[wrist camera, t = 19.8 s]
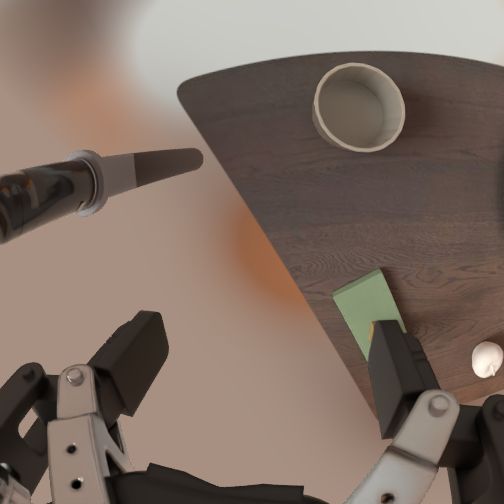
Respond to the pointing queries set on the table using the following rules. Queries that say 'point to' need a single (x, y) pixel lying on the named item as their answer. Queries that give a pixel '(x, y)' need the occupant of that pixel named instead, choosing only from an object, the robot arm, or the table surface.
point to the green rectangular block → (366, 306)
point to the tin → (358, 108)
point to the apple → (486, 359)
